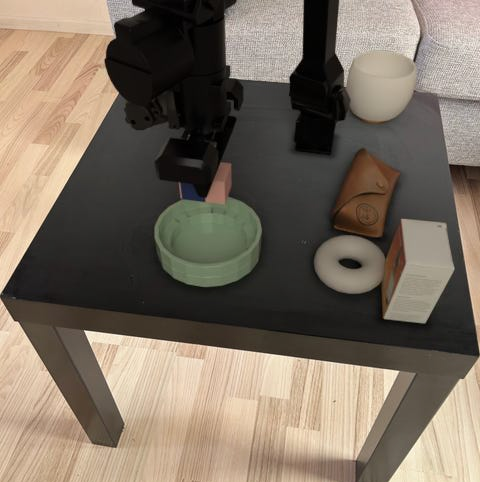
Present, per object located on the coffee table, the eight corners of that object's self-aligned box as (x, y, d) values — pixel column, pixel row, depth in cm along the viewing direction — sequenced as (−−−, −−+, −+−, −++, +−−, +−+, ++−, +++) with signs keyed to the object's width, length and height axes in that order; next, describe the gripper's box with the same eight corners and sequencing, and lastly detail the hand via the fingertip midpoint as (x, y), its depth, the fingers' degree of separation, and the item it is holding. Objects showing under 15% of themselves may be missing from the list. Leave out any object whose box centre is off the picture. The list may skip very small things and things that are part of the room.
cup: (411, 133, 89) (427, 81, 81) (345, 132, 89) (355, 80, 81) (398, 99, 96) (412, 48, 89) (337, 99, 97) (345, 48, 89)
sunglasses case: (385, 238, 71) (371, 202, 67) (341, 246, 75) (325, 212, 71) (402, 170, 81) (390, 135, 77) (362, 180, 85) (349, 148, 81)
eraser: (231, 185, 64) (231, 162, 61) (225, 205, 62) (224, 182, 59) (188, 180, 65) (186, 157, 62) (180, 199, 63) (177, 176, 60)
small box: (379, 275, 67) (400, 216, 58) (420, 279, 66) (446, 221, 58) (381, 320, 62) (404, 263, 54) (425, 325, 61) (455, 268, 53)
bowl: (268, 225, 73) (269, 201, 70) (249, 297, 64) (250, 274, 61) (175, 212, 75) (172, 188, 71) (145, 280, 66) (139, 257, 63)
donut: (372, 309, 63) (391, 260, 69) (378, 292, 61) (398, 242, 66) (301, 284, 66) (326, 239, 71) (304, 267, 63) (329, 221, 69)
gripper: (152, 21, 57) (168, 140, 69) (93, 100, 46) (124, 225, 58) (244, 29, 55) (243, 148, 68) (206, 112, 44) (213, 237, 57)
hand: (206, 186), depth 63 cm, fingers closed on eraser, 4 cm apart
